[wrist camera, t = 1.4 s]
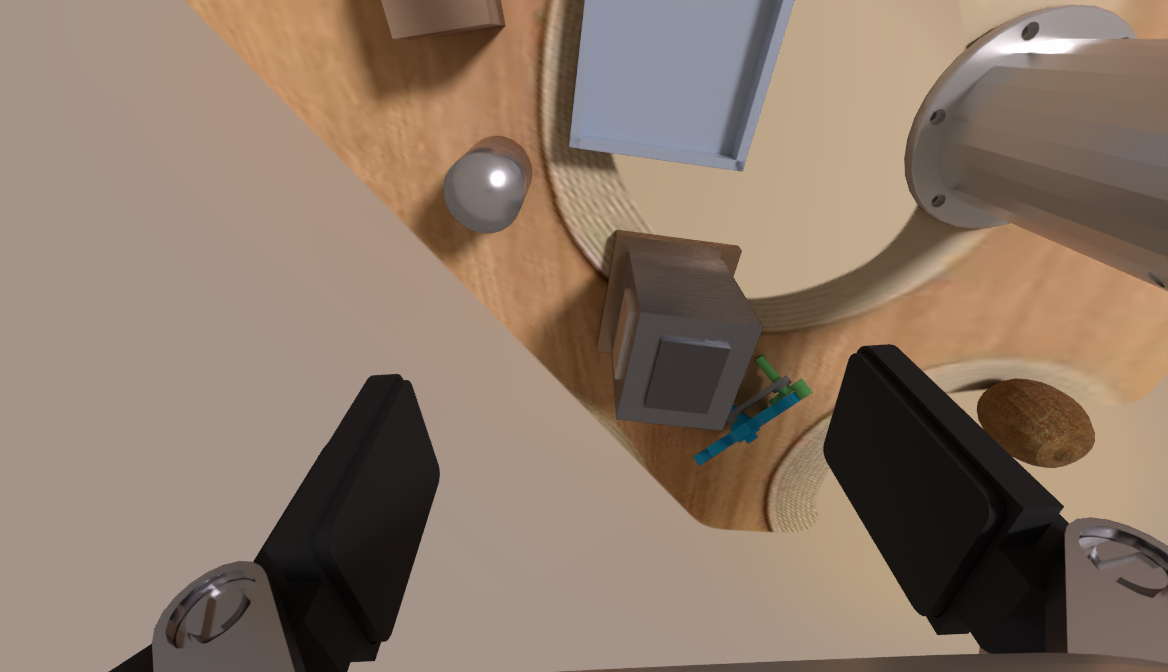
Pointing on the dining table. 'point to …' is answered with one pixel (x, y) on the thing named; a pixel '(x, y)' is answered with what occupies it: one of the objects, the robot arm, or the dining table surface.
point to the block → (440, 17)
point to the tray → (675, 77)
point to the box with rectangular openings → (676, 330)
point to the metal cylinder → (488, 184)
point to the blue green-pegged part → (749, 426)
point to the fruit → (1036, 422)
